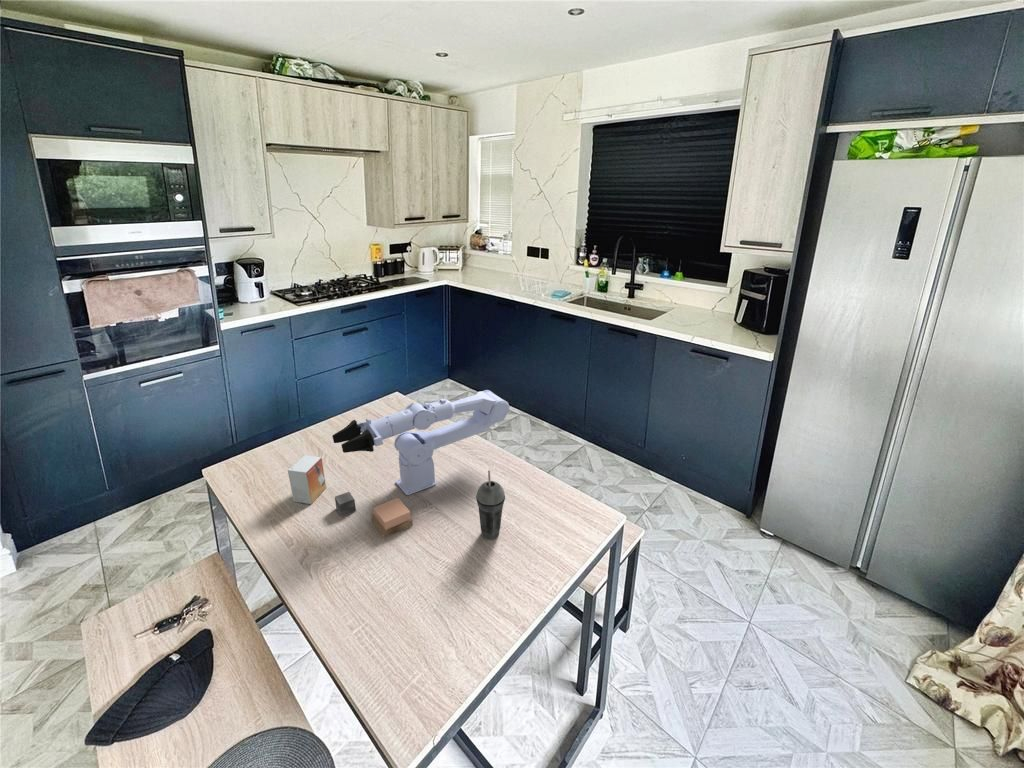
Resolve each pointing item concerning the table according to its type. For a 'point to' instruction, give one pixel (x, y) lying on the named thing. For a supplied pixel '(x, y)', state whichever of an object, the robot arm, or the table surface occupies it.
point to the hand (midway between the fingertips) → (337, 443)
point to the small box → (307, 479)
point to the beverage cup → (490, 508)
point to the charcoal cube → (345, 503)
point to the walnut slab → (391, 530)
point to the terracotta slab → (391, 513)
